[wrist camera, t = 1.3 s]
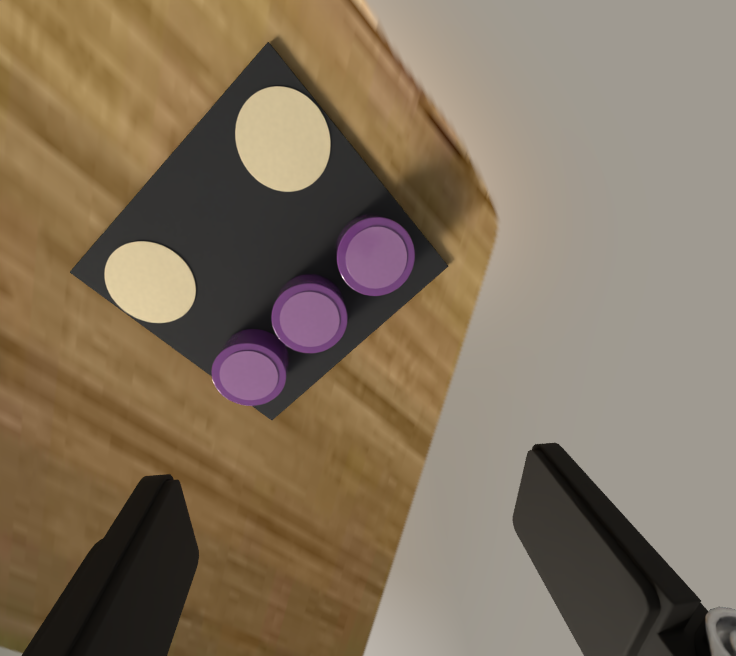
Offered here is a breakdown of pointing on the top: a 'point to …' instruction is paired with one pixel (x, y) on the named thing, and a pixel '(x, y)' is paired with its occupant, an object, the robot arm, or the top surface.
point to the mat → (249, 227)
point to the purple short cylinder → (374, 254)
